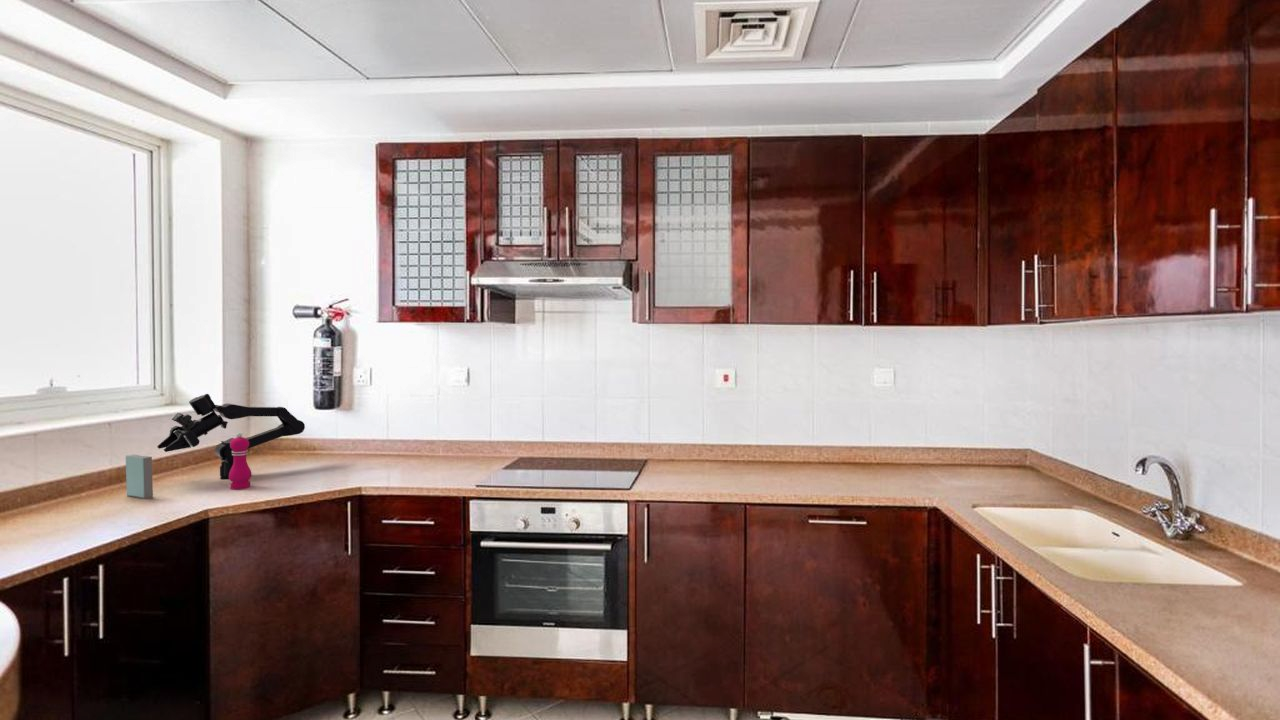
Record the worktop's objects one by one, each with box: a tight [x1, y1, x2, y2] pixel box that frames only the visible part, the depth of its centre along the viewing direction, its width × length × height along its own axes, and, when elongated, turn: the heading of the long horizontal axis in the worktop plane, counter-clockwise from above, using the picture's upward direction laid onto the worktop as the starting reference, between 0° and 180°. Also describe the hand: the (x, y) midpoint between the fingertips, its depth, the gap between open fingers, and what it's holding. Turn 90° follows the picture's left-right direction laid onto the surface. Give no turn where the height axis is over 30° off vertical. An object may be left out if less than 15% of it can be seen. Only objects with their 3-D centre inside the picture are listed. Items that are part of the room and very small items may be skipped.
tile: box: [125, 454, 154, 500], centre depth 226 cm, size 3×10×14 cm, turn 67°
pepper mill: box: [229, 432, 253, 490], centre depth 240 cm, size 7×7×20 cm
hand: (161, 449), depth 240 cm, fingers open, 9 cm apart
